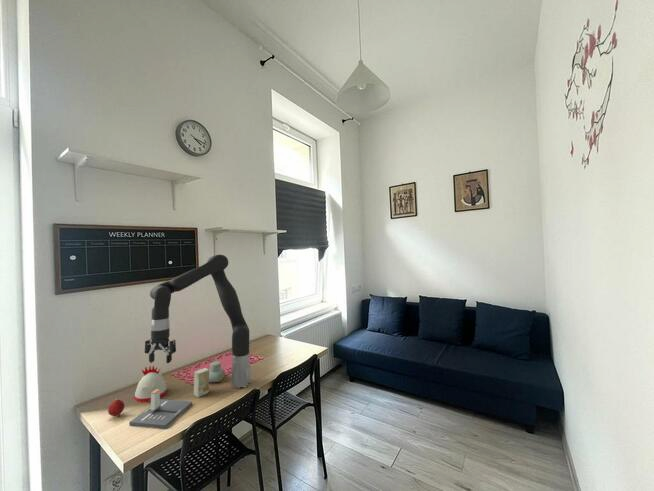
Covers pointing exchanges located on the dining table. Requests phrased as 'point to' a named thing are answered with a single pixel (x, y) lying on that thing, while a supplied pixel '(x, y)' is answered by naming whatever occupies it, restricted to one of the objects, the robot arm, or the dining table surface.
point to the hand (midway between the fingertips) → (160, 362)
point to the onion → (116, 408)
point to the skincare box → (201, 382)
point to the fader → (155, 400)
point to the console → (161, 414)
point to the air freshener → (216, 372)
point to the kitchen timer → (150, 385)
